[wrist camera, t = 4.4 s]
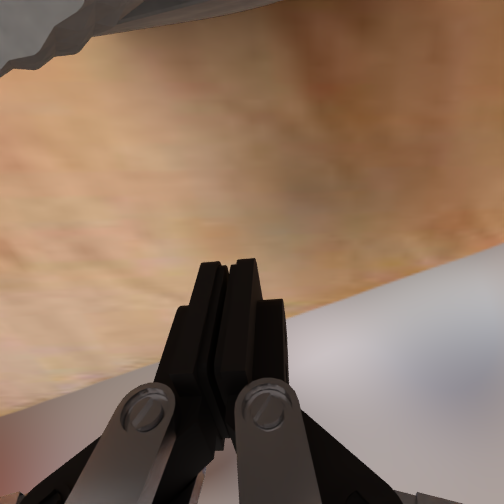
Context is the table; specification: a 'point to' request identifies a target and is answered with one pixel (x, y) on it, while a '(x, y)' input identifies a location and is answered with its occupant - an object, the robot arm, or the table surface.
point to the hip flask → (90, 23)
